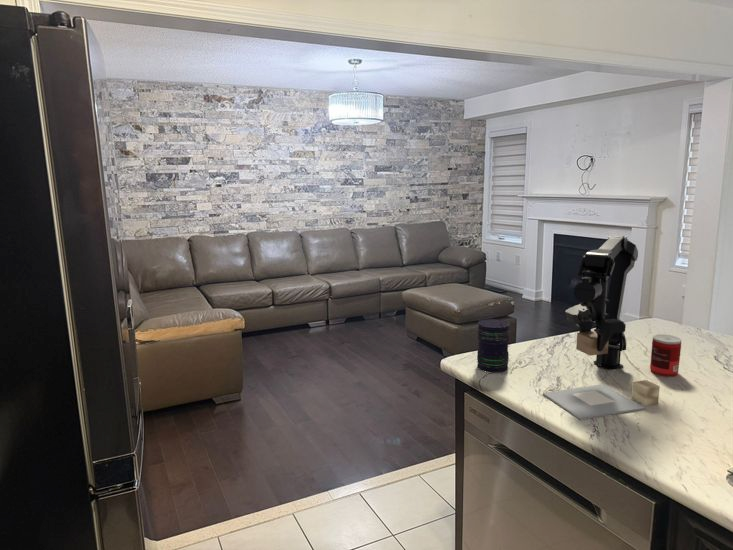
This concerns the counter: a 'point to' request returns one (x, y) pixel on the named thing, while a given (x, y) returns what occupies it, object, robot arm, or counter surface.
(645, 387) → the maple block
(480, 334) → the black jar
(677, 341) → the canned food
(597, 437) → the counter surface
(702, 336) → the counter surface
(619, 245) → the robot arm
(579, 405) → the build mat
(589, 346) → the walnut block
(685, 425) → the counter surface
